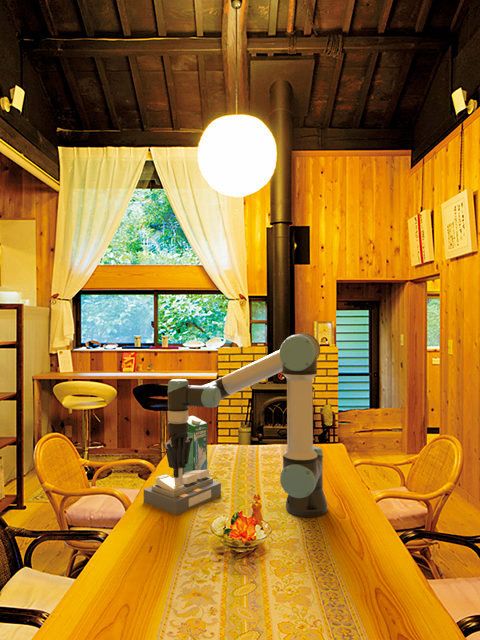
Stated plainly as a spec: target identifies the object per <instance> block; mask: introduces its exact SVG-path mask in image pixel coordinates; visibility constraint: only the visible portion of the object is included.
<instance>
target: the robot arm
mask: <svg viewBox="0 0 480 640" xmlns="http://www.w3.org/2000/svg"><path fill="white" fill-rule="evenodd" d="M320 355H321V345H320V342H319V341H318V340H317V338H316V337H315V336H313V335H312V334H309V333H297V334H292V335H290V336H288V337H287V338H286V339H285V340H284V341H283V342H282V343H281V345H280V348H279V350H276V351H274V352H272V353H270V354H268V355H267V356H264V357H262V358H260V359H258V360H256V361H253V362H251V363H249V364H248V365H245V366H243V367H241V368H239V369H237V370H235V371H232V372H230V373H228V374H226V375H224V376H222V377H220V378H218V379H216V380H213V381H211V382H209V383H206V384H203V385H192V384H191V385H190V384H189V380H187V379H182V378H176V379H170V380H169V381H168V383H167V422H168V423H167V432H168V434H169V436H168V440H167V441H166V442H164V443H163V447H164V448H165V453H166V460H167V463H168V467H169V468H170V469H173V470H172V471H173V476H174V477H175V486H179V487H181V486H183V474H184V473H183V472H184V468H185V467H186V466H185V465H187V464H188V459H189V452H190V446H191V442H192V440H193V438H191V437H189V436H188V434H187V432H188V430H189V427H188V420H189V419H188V417H189V407H199V408H200V407H201V408H216V407H218V406H219V405H220V402H221V400H223V399H225V398H227V397H230V396H231V395H234V394H235V393H238V392H240V391H242V390H244V389H246V388H248V387H252V386H253V385H256V384H258V383H260V382H262V381H264V380H267V379H269V378H270V377H273V376H275V375H277V374H279V373H281V372H282V375H283V376H284V377H285V378H286V407H287V408H286V414H287V416H286V417H287V418H286V422H287V424H286V425H287V427H286V431H287V432H286V433H287V434H286V436H287V441H286V442H287V447H286V448H287V449H286V450H285V451H283V453H282V470H281V472H280V475H279V477H280V479H279V481H280V486H281V488H282V489H283V491H284V492H285V493H286V494H287V497H286V500H285V510H286V511H287V512H288V513H290V514H292V515H294V516H297V517H301V518H302V517H303V518H316V517H322V516H324V515H325V514H327V512H328V502H327V498H326V496H325V492H324V489H323V487H324V486H323V481H324V480H323V478H324V477H323V476H324V475H323V471H324V470H323V469H324V468H323V467H324V464H323V463H324V459H323V458H324V453H323V449H322V448H321V447H319V446H316V445H314V442H313V441H314V440H313V439H314V433H313V431H314V430H313V429H314V427H313V426H314V424H313V422H314V420H313V419H314V417H313V416H314V415H313V405H314V404H313V402H314V401H313V400H314V399H313V379H314V378H315V377H316V376H317V375H318V359H319V357H320ZM184 460H185V461H184Z"/></svg>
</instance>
